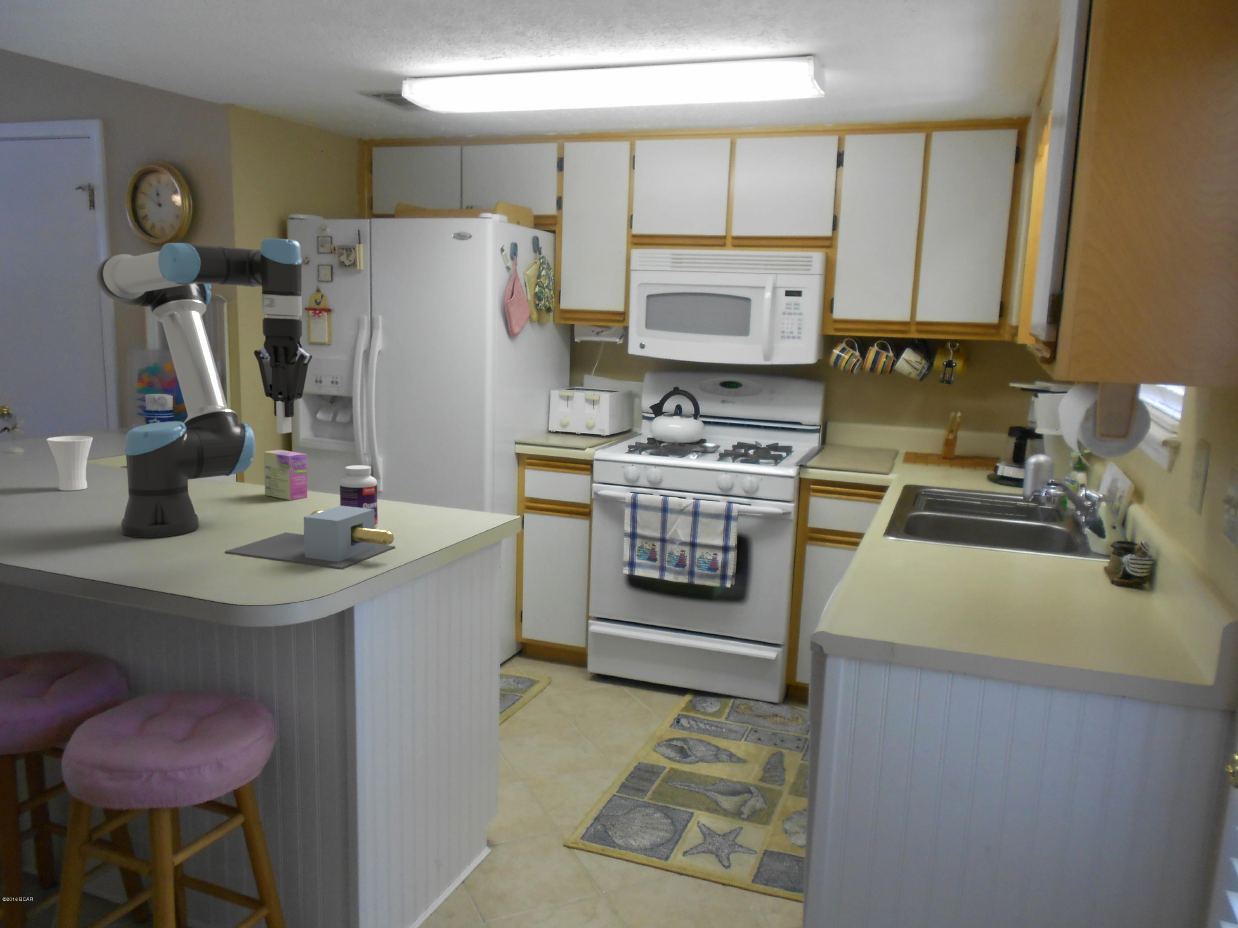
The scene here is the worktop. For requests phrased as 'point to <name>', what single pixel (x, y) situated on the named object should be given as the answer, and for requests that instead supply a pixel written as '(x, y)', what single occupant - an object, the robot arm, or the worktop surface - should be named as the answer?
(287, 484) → the box
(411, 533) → the worktop surface
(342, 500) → the pill bottle
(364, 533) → the pin
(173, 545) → the worktop surface
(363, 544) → the block
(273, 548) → the mat
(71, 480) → the cup
